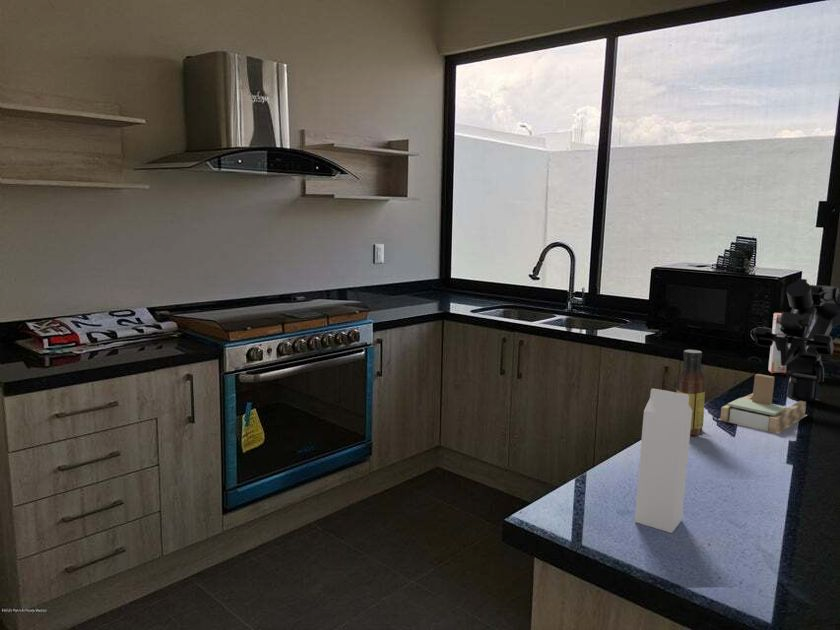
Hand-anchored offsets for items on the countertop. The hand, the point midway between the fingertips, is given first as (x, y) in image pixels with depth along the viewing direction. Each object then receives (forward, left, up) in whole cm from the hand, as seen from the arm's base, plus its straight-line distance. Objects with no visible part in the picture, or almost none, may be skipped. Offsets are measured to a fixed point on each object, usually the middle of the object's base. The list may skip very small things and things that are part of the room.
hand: (782, 364), depth 170 cm
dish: (+13, +13, -12) cm, 22 cm away
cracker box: (-32, -50, -13) cm, 60 cm away
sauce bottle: (+32, +20, -13) cm, 41 cm away
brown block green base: (+12, +12, -9) cm, 19 cm away
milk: (+56, +68, -13) cm, 90 cm away
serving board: (+8, +8, -13) cm, 17 cm away
